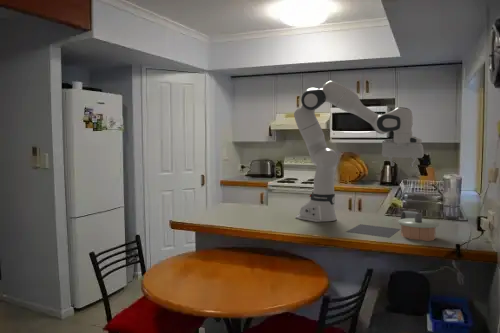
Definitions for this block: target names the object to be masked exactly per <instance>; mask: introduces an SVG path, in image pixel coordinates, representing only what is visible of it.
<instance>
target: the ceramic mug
mask: <svg viewBox="0 0 500 333" xmlns="http://www.w3.org/2000/svg"><path fill="white" fill-rule="evenodd" d="M415 213H419V212H417V211H410V210H403V211H402V212H401V214H400V219H406V218H415Z"/></svg>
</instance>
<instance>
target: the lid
mask: <svg viewBox="0 0 500 333" xmlns="http://www.w3.org/2000/svg"><path fill="white" fill-rule="evenodd" d="M397 223H398V224H399V225H400V226H401V225H404V226H409V227H416V228H434V227H436V228H438V227H439V226H440V222H438V221H436V220H432V219H425V218H423V212H418V213H415V218H406V219H401V218H400V219H398V221H397Z"/></svg>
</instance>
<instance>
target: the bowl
mask: <svg viewBox="0 0 500 333" xmlns="http://www.w3.org/2000/svg"><path fill="white" fill-rule="evenodd" d="M436 234H437V227H434V228H416V227H409V226H404V225H401V224H400V235H401V236H402V237H403V238H407V239H410V240H416V241H422V242H430V241H435V240H434V239H436V237H437V235H436Z"/></svg>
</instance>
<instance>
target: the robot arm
mask: <svg viewBox="0 0 500 333" xmlns="http://www.w3.org/2000/svg"><path fill="white" fill-rule="evenodd" d="M300 100H301V106H300V107H298V108H297V109H296V110H295V111H294V113H293V115H294V120H295V124H296V126H297V128H298V130H299V133H300V135H301V137H302V140H303V141H304V143H305V146H306V149H307V151H308V154H309V158H310V160H311V163H312V164H313V165H314V166H315V174H314V177H313V193H310V194H309V196H308V197H309V198H310V199H309V200H308V201H307V202H305V203H304V204H302V205H301V206H300V209H299V214H296V215H295V219H298V220H299V219H300V220H304V221H309V222H315V223H321V222H332V221H334V222H335V221H336V220H338V219H337V215H336V209H335V208H336V207H335V203H336V196H335V195H336V194H335V178H336V172H337V166H338V164H339V161H340V160H339V159H340V158H339V155H338V153H337V152H336V151H335V150H334V149H333V148H329V147H328V144H327V141H326V139H325V138H326V137H325V133H324V131H323V129H322V127H321V124H320V123H319V120H318V119H317V117H316V113H315V111H316V110H317V109H318V108H320V107H321V106H322V105H323V104H324V103H329V104H330V105H333V106H334V107H336V108H338V109H340V110H342V111H345V112H347V113H349V114H353V115H354V116H357V117H358V118H360V119H362V120H363V121H365V122H366V123H368V124H369V125H370V126H371V127H372V129H373V130H374V131H375V132H376V133H378V134H380V135H381V134H382V135H384V134H388V133H390V132H393V138H390V139H388V138H386V139H384V140H382V143H381V146H382V149H381V156H382V157H383V158H388V161H389V162H390V167H394V166H395V162H394V161H393V158H405V159H407V158H409V159H410V158H411V159H412V162H409V167H410V168H413V167H414V163H415V162H416V161H417V159H423V157H424V155H425V154H424V153H425V152H424V151H425V150H424V146H423V144H422V141H423V140H422V138H420V137H417V136H413V131H412V128H413V124H414V123H413V121H414V120H413V119H414V118H413V111H412V110H411V109H410V108H407V107H400V106H397V107H396V108H394V109H393V110H391V111H388V112H386V113H383V114H379V113H376V112H375V111H374V110H372V109H370V108H368V107H367V106H366V105H364V104H363V103H362V101H361V100H360V97H359V95H358V94H357V93H355V92H354V91H353V90H351V89H350V88H348V87H347V86H346V85H343V84H341V83H339V82H336V81H334V80H329V81H327V82H325V83H324V84H323V85H322V87H321V88H319V87H316V86H313V87H309V88H307V89H306V90H304V92H303V93H302V95H301V98H300Z"/></svg>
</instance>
